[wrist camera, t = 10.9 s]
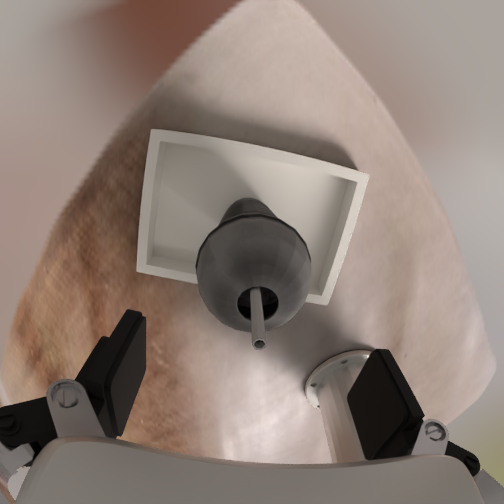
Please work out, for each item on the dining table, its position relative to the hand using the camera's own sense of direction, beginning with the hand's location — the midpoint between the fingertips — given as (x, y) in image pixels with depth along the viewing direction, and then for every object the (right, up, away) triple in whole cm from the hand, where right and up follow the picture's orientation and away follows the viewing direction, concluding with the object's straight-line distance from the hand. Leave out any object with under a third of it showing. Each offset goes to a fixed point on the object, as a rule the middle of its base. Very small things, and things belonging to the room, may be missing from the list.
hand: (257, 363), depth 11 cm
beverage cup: (-1, +8, +18) cm, 20 cm away
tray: (-1, +8, +19) cm, 20 cm away
